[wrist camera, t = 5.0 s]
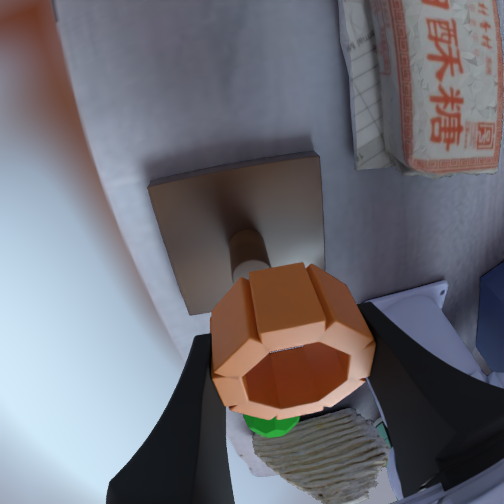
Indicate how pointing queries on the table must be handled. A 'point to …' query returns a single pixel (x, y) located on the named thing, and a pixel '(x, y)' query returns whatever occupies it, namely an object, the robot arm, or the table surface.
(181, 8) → the table surface
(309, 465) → the fossil tooth
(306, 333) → the orange grooved ring
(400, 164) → the packaged product
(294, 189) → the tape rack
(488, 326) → the phone stand
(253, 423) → the polyhedron
